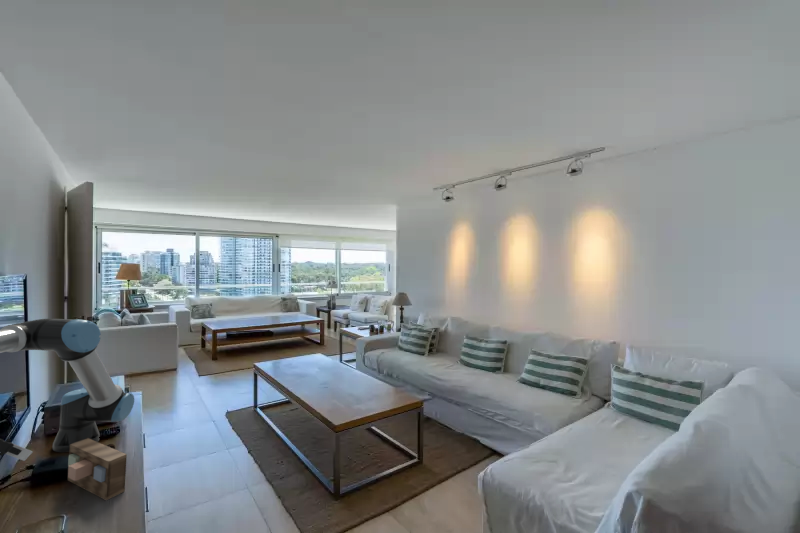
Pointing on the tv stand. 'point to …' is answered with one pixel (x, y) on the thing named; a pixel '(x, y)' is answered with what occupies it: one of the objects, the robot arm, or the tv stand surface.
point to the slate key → (99, 473)
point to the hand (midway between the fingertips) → (27, 455)
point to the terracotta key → (80, 469)
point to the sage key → (73, 459)
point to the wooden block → (109, 460)
